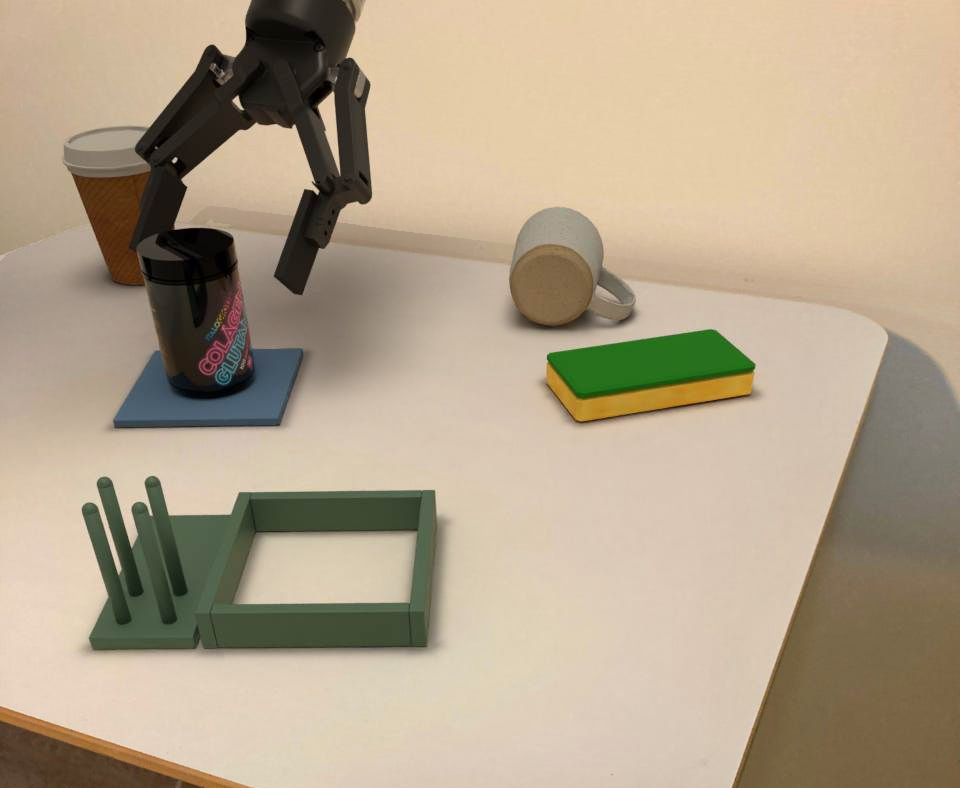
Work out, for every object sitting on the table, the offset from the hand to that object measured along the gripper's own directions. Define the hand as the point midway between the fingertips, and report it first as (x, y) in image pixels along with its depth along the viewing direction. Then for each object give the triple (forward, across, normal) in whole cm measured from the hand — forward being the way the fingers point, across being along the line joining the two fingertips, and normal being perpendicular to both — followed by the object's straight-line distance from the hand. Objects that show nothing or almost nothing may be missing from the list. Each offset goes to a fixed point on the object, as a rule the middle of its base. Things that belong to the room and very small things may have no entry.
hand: (213, 271), depth 76 cm
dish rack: (+20, -20, +8) cm, 29 cm away
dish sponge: (-3, -30, -15) cm, 33 cm away
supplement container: (+7, 0, -4) cm, 8 cm away
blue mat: (+8, 0, -4) cm, 9 cm away
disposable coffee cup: (-4, +22, -16) cm, 28 cm away
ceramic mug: (-10, -18, -22) cm, 31 cm away
